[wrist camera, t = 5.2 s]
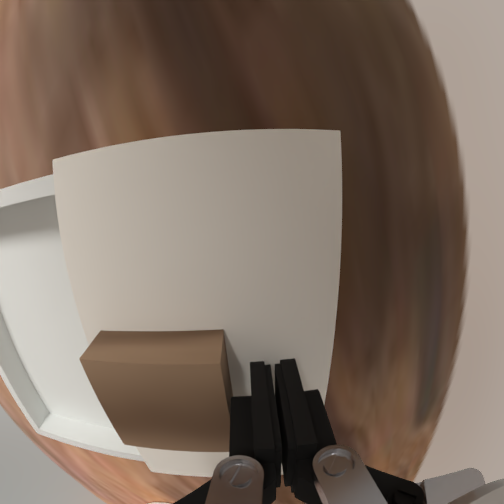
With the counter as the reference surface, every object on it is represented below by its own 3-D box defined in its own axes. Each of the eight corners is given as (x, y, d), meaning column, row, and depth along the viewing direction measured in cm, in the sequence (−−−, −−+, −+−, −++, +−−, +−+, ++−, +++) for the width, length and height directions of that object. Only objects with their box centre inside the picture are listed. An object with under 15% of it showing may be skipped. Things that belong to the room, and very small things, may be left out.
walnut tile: (100, 330, 10) (79, 358, 8) (223, 329, 10) (220, 363, 8) (134, 414, 11) (124, 444, 9) (236, 418, 11) (236, 451, 9)
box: (-25, 201, 11) (-51, 208, 8) (87, 171, 11) (56, 173, 9) (49, 413, 15) (37, 433, 13) (154, 435, 16) (147, 461, 13)
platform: (90, 159, 11) (52, 159, 8) (316, 139, 11) (340, 130, 8) (159, 439, 16) (151, 471, 13) (303, 437, 16) (310, 471, 13)
